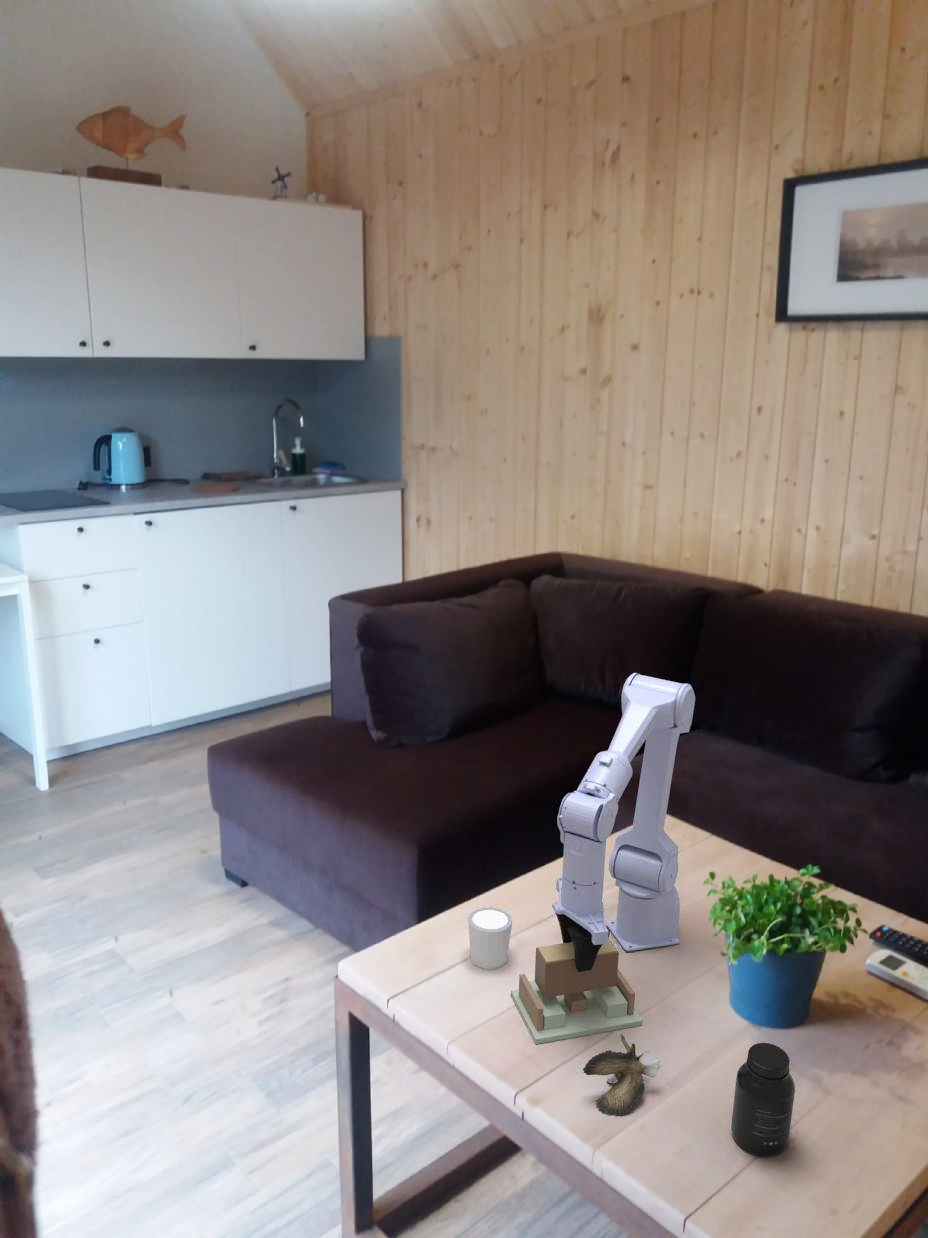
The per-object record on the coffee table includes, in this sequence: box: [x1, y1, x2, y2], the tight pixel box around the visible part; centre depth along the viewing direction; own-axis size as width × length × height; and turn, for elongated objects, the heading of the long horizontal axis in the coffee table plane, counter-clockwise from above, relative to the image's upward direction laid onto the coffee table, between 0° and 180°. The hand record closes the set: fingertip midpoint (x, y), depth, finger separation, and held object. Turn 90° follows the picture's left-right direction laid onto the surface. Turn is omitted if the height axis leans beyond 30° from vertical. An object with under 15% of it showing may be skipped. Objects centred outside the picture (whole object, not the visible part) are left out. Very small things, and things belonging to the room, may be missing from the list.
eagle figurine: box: [582, 1033, 661, 1117], centre depth 130 cm, size 8×7×9 cm
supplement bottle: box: [730, 1042, 796, 1158], centre depth 122 cm, size 7×7×12 cm
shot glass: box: [467, 907, 513, 970], centre depth 156 cm, size 7×7×7 cm
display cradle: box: [510, 968, 643, 1045], centre depth 145 cm, size 16×11×4 cm
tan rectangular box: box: [534, 937, 620, 998], centre depth 144 cm, size 11×4×6 cm, turn 106°
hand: (578, 960), depth 143 cm, fingers closed on tan rectangular box, 4 cm apart
